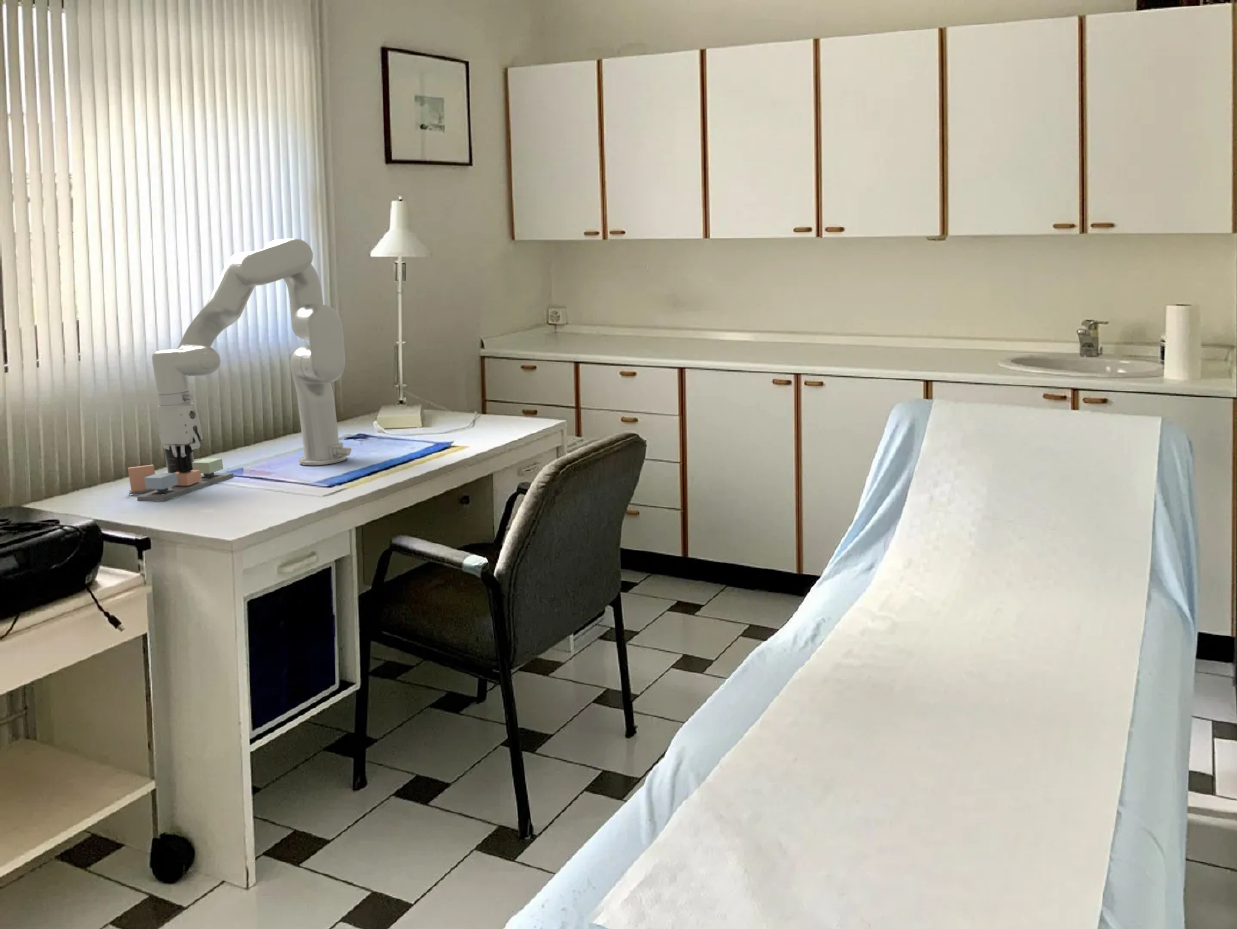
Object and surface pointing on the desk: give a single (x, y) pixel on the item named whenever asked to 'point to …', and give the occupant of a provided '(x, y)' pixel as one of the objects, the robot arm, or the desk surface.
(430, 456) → the desk surface
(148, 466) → the upright salmon panel
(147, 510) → the desk surface
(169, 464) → the supplement bottle
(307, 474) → the desk surface
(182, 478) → the button terracotta
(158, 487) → the button slate
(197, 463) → the button sage
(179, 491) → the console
